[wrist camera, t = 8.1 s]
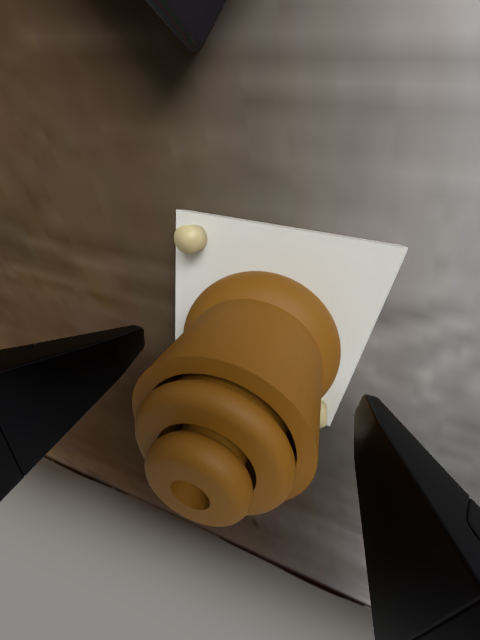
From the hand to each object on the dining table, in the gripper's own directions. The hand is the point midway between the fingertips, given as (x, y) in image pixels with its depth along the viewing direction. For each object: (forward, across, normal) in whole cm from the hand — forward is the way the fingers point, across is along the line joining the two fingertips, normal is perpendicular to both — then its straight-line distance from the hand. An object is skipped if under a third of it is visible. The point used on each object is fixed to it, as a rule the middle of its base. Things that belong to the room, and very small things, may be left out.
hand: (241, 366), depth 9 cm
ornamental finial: (+4, 0, 0) cm, 4 cm away
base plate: (+4, 0, 0) cm, 4 cm away
